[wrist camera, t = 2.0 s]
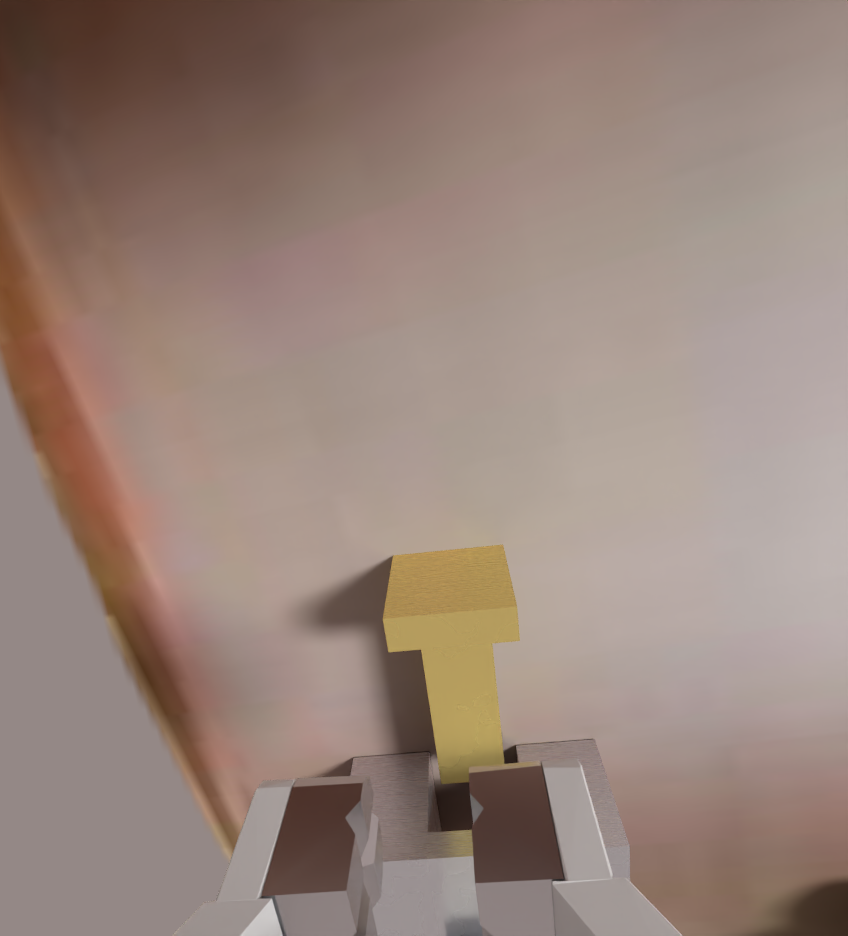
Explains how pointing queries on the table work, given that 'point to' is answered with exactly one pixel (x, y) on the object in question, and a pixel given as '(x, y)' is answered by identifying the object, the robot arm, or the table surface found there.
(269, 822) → the robot arm
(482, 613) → the lynch pin
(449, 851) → the block
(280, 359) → the table surface
